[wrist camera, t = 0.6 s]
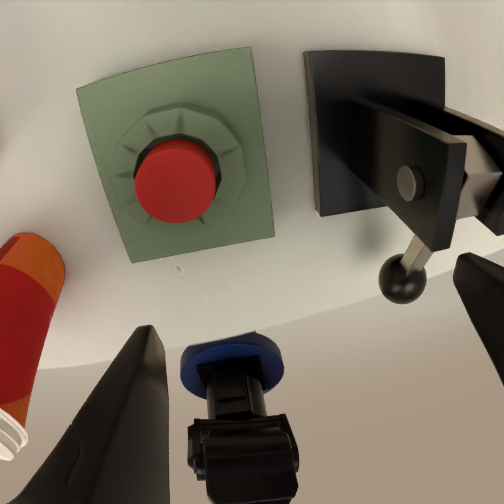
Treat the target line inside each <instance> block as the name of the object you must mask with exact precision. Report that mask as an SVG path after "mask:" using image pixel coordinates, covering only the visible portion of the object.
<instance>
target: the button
mask: <svg viewBox="0 0 504 504" xmlns="http://www.w3.org/2000/svg"><path fill="white" fill-rule="evenodd" d="M215 190H216V181H215V169H214V165H213V162H212V159H211V157H210V156H209V154H208V153H207V152H206V150H204V149H203V148H202V147H201V146H200V145H198V144H196V143H194V142H192V141H189V140H185V139H170V140H166V141H163V142H161V143H159V144H158V145H156V146H155V147H153V148H152V149H151V150H150V151H149V152H148V154H147V155H146V157H145V158H144V160H143V162H142V164H141V166H140V167H139V169H138V171H137V174H136V178H135V193H136V196H137V199H138V201H139V203H140V205H141V206H142V208H143V209H144V210H145V211H146V212H147V213H148V214H149V215H151V216H152V217H154V218H155V219H158V220H160V221H163V222H167V223H184V222H188V221H191V220H193V219H195V218H197V217H199V216H200V215H201V214H203V213H204V212H205V211H206V210H207V208H208V207H209V206H210V204H211V203H212V200H213V198H214V195H215Z"/></svg>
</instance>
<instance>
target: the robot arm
mask: <svg viewBox="0 0 504 504" xmlns="http://www.w3.org/2000/svg"><path fill="white" fill-rule="evenodd" d="M453 282H454V285H455V287H456V289H457V291H458V293H459V295H460V297H461V300H462V302H463V304H464V306H465V308H466V310H467V313H468V315H469V317H470V319H471V322H472V323H473V325H474V327H475V329H476V331H477V333H478V335H479V337H480V338H481V340H482V342H483V344H484V346H485V348H486V350H487V352H488V354H489V356H490V358H491V360H492V362H493V364H494V366H495V368H496V370H497V373H498V375H499V377H500V379H501V381H502V383H503V386H504V267H502V266H500V265H498V264H496V263H493V262H491V261H489V260H487V259H485V258H482V257H480V256H478V255H475V254H473V253H470V252H468V253H464V254H461V255H459V256H458V258H457V262H456V266H455V270H454V274H453ZM196 371H197V373H198V375H199V377H200V379H201V382H202V384H203V386H204V388H205V390H206V392H207V408H208V419H194V424H193V425H191V426H189V427H188V459H187V461H188V465H189V466H190V467H191V468H192V469H193V470H194V473H196V474H197V480H198V481H204V480H206V489H207V496H208V500H209V501H210V502H211V504H289V503H290V501H291V499H292V498H294V497H295V495H296V492H297V489H298V482H297V478H296V473H297V472H298V469H299V453H298V447H297V444H296V441H295V438H294V436H293V433H292V430H291V427H290V425H289V422H288V419H287V417H286V414H279V415H274V416H267V412H266V407H265V401H264V396H263V391H264V390H265V389H266V385H265V379H264V374H263V369H262V364H261V359H260V356H258V355H253V356H247V357H242V358H236V359H230V360H223V361H217V362H210V363H204V364H198V365H197V366H196ZM202 442H203V443H202ZM7 504H170V490H169V397H168V385H167V374H166V361H165V350H164V346H163V344H162V342H161V340H160V338H159V336H158V334H157V332H156V330H155V328H154V327H153V326H152V325H145V326H139V327H137V328H136V329H135V331H134V332H133V334H132V335H131V336H130V338H129V339H128V341H127V342H126V343H125V345H124V346H123V348H122V349H121V351H120V352H119V353H118V355H117V356H116V358H115V359H114V361H113V362H112V363H111V365H110V366H109V368H108V369H107V371H106V372H105V373H104V375H103V376H102V378H101V379H100V381H99V382H98V384H97V385H96V387H95V388H94V390H93V391H92V393H91V394H90V395H89V397H88V398H87V400H86V402H85V403H84V404H83V406H82V407H81V409H80V410H79V412H78V414H77V415H76V416H75V418H74V420H73V421H72V424H71V425H70V426H69V427H68V429H67V430H66V432H65V433H64V435H63V436H62V438H61V439H60V441H59V442H58V444H57V445H56V447H55V448H54V449H53V451H52V452H51V454H50V455H49V456H48V457H47V459H46V460H45V462H44V463H43V464H42V465H41V467H40V468H39V469H38V471H37V472H36V474H34V476H33V477H32V478H31V480H30V481H29V482H28V484H27V485H26V486H25V487H24V489H23V490H22V491H21V493H20V494H19V495H18V496H17V497H16V498H14V499H13V500H12V501H10V502H9V503H7Z"/></svg>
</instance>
